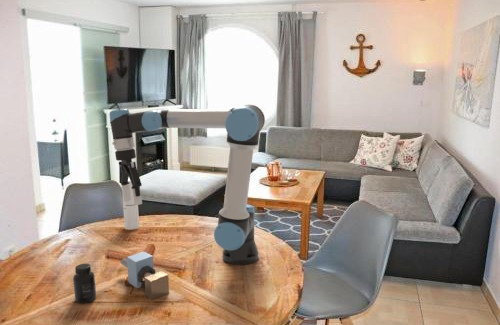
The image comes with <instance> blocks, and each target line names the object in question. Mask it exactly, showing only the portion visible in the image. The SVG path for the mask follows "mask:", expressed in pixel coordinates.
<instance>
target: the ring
mask: <svg viewBox="0 0 500 325" xmlns="http://www.w3.org/2000/svg"><path fill="white" fill-rule="evenodd" d="M148 270H150V273H151V274H152V275H153V274H155V273H156V270H155V269H153V268H151V267H150V266H145V267H142V268H141V270H140V271H139V273H138V281H139V282H141V285H144V286H145V279H143V275H144V273H145V272H146V271H148Z"/></svg>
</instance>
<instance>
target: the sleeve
mask: <svg viewBox="0 0 500 325" xmlns="http://www.w3.org/2000/svg"><path fill="white" fill-rule="evenodd" d="M126 259H127V264H128V268H127V278H128V279H127V281H128V283H129V284H130V285H131V286H133V287H134V288H136V289H139V288H142V283H141V282H139V281H138V273H139V271H140V270H141V268H142V267H145V266H150V267H151V268H153V269H154V256H153V255H152V254H150V253H148V252H146V251H141V252H139V253H134V254H132V255H129V256H127V257H126ZM154 270H155V269H154ZM148 272H150V270H148Z"/></svg>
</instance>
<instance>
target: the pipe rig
mask: <svg viewBox="0 0 500 325" xmlns="http://www.w3.org/2000/svg"><path fill="white" fill-rule="evenodd" d="M120 265H121V266H123V267H125V268H127V269H128V264H127V258H121V260H120ZM143 280H145V285H144V290H145V292H144V294H145V297H146V298H147V299H149V300H151V301H154V300H156V299H159V298H161V297H163V296H165V295H168V294H170V282H169V280H170V279H169V274H168V273H166V272H164V271H162V270H161V271H158V272H155V274H153V275H152V274H151V273H150V272H148V271H146V272H145V273H144V275H143Z"/></svg>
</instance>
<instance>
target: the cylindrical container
mask: <svg viewBox="0 0 500 325" xmlns="http://www.w3.org/2000/svg"><path fill="white" fill-rule="evenodd" d="M128 181H129V183H130V184H129V189H130V195H131V200H130V201H124V197H123V196H122V207H123V208H122V209H123V221H124V222H123V223H124V224H123V225H124V229H125V230H126V231H127V230H129V231H131V230H132V231H133V230H136V229H139V228H140V218H139V217H140V216H139V205H135V203H134V197H133V190H132V189H131V187H132V183H131V181H130V178H129V177H128ZM127 185H128V184H127ZM121 191H122V195H123V190H121Z"/></svg>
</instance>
